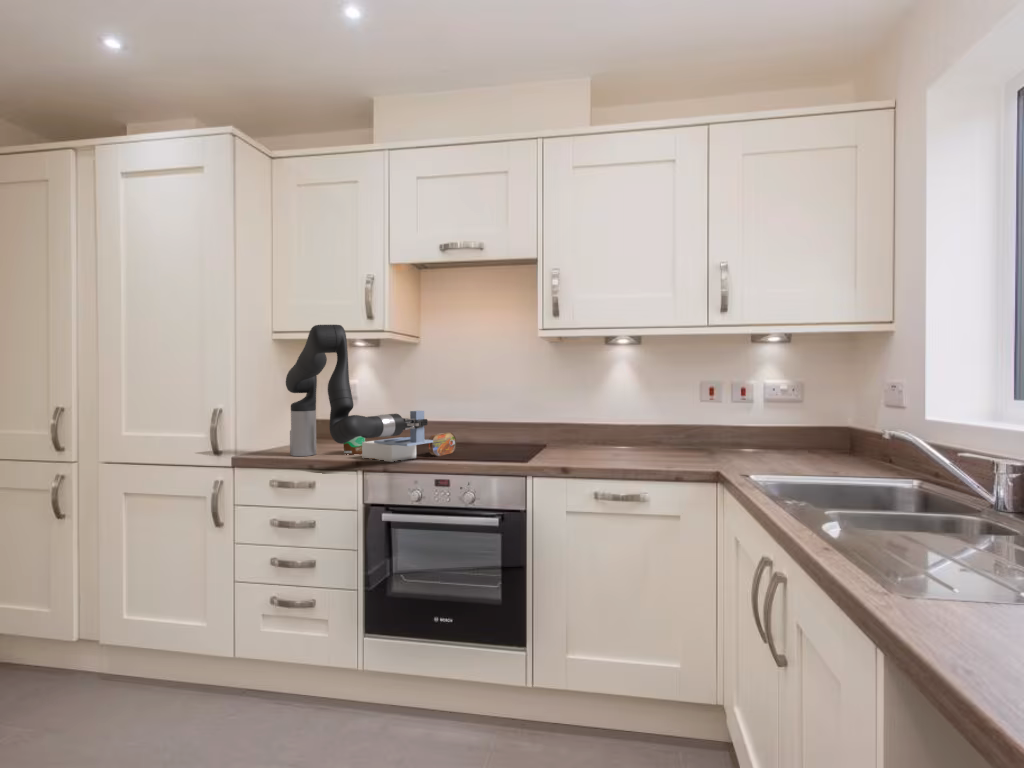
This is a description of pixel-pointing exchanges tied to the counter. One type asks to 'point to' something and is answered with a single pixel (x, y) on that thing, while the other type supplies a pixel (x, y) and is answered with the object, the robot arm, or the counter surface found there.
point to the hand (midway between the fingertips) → (422, 421)
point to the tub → (387, 451)
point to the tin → (442, 444)
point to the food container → (354, 446)
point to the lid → (415, 434)
